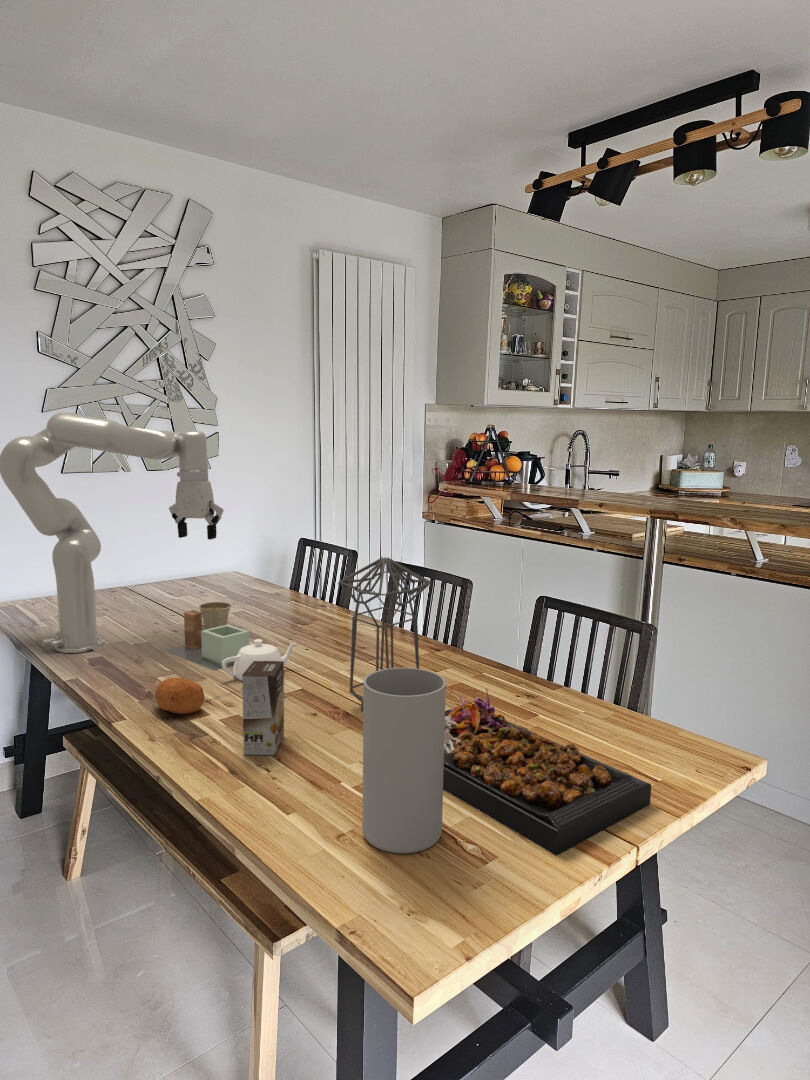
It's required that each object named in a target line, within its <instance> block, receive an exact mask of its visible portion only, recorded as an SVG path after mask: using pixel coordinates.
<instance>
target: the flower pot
mask: <svg viewBox="0 0 810 1080" xmlns="http://www.w3.org/2000/svg"><path fill="white" fill-rule="evenodd" d="M198 608H199V610H200V611H199V612H201V613H202V625H203V630H206V629H211V628H215V627H219V626H224V625H228V621H229V613H230V610H231V608H232V604H231V603H229V602H225V601H211V602H210V601H209V602H205V603H201V604H199V606H198Z"/></svg>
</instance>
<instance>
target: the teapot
mask: <svg viewBox="0 0 810 1080" xmlns="http://www.w3.org/2000/svg"><path fill="white" fill-rule="evenodd" d="M253 642H254V644H250V645H247V646H244V647H242V648H241V649H240V651H239V652H238V654H237V656H234V657H229V658H226V659H224V660H223V661H222V671H224V672H225V673H226V674H227V675H229V676H230V677H235V678H236V679H237V680H238V681H240V682H243V681H242V675H243V673H244V672H245V671H246V670H247V669H248V667H249V666H250V665H251V664H252V663H253V661H283V662H284V666H285V665H286V664H287V663H288V661H289V659H290V657H291V654H292V652H293V649H294V647H295V646H296V645H297V643H296V642H290V644H289V646H288V648H287V650H286V652H285V654H284V655H283V656H281V653H280V652H279V649H278V648H277V647H276V646H275V645H272V644H268V643H263V639H260V638H256V639H254V640H253ZM230 661H235V663H234V665H232V667H233V668H232V670H230V669H228V667H226V663H227V662H230ZM232 671H233V672H232Z"/></svg>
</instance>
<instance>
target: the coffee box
mask: <svg viewBox="0 0 810 1080" xmlns="http://www.w3.org/2000/svg"><path fill="white" fill-rule="evenodd" d="M284 670H285V665H284V662H283V661H253V663H252V664H251V665H250V666H249V667H248V669H247V670H246V671H245V672H244V673H243V675H242V681H241V682H242V726H243V727H242V729H243V730H242V731H243V733H242V734H243V735H242V736H243V738H242V739H243V755H248V756H249V755H250V756H252V755H253V756H275V755H276V753H277V751H278V749H279V748H280V745H281V743H282V741H283V739H284V737H285V707H284V706H285V698H284V697H285V695H284V694H285V691H284V690H285V685H284V684H285V681H284V680H285V679H284V676H285V675H284V672H285V671H284Z"/></svg>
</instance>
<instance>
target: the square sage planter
mask: <svg viewBox="0 0 810 1080" xmlns="http://www.w3.org/2000/svg"><path fill="white" fill-rule="evenodd" d="M250 641H251V639H250V631H249V630H247V629H244V628H243V629H242V628H240V627H237V626H234V625H231V624H227V625H224V626H219V627H215V628H211V629H206V630H204V629H202V631H201V642H202V659H203V660H205V661H208V662H210V663H213V664H215V665H218V666H220V667H222V661H223V660H224V659H226V658H229V657H234V656H237V654H238V652H239V651H240V649H241V648H242V647H244V646H247V645H251V643H250ZM234 663H235V661H230V662H227V663H226V667H227V666H229V667H231V666H230V665H232V666H234ZM227 668H228V667H227Z"/></svg>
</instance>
